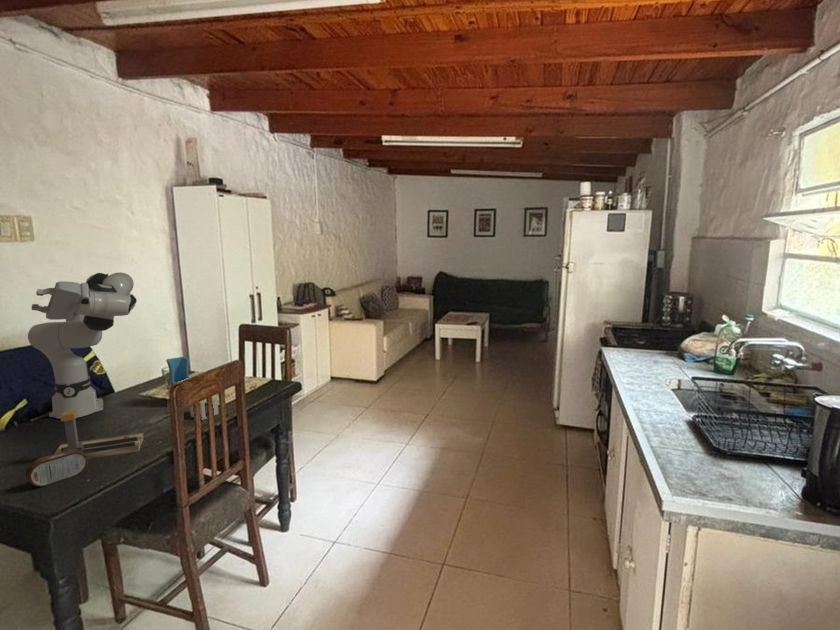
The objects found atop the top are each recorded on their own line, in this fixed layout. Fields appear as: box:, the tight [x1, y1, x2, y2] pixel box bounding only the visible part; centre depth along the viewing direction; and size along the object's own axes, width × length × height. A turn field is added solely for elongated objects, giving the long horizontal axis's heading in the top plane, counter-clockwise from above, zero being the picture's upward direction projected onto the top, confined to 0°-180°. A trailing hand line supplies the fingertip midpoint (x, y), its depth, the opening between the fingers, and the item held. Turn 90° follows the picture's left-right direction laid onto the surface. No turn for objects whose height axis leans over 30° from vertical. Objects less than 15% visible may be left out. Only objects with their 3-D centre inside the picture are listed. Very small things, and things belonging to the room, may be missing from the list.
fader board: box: [53, 432, 145, 460], centre depth 163 cm, size 12×25×3 cm, turn 112°
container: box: [189, 395, 219, 421], centre depth 194 cm, size 8×8×13 cm
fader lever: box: [60, 410, 84, 452], centre depth 157 cm, size 4×5×14 cm
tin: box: [25, 449, 89, 488], centre depth 143 cm, size 15×3×8 cm, turn 141°
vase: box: [166, 356, 190, 387], centre depth 208 cm, size 8×8×20 cm
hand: (34, 299), depth 165 cm, fingers open, 8 cm apart
